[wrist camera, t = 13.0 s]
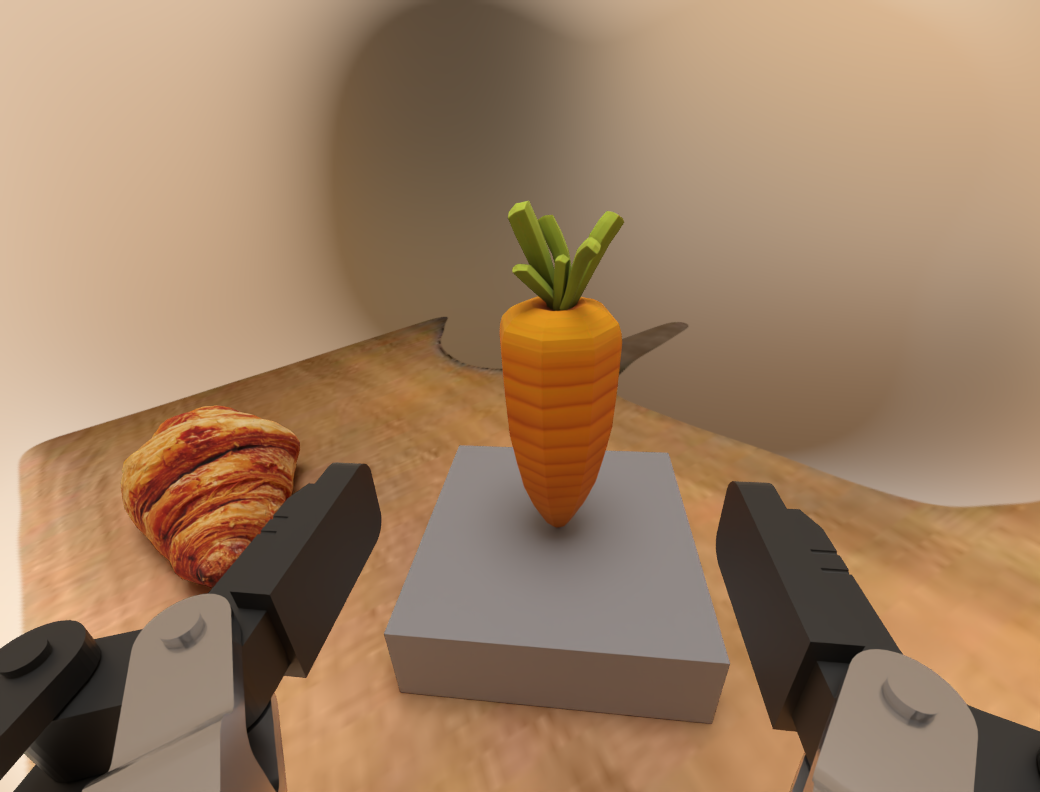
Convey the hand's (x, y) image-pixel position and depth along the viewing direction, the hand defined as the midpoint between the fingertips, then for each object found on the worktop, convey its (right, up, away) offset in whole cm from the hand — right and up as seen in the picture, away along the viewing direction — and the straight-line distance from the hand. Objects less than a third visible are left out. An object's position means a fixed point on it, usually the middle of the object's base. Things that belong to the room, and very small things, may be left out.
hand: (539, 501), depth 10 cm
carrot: (+1, -4, +12) cm, 13 cm away
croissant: (-21, -5, +22) cm, 30 cm away
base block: (+1, -8, +14) cm, 16 cm away
